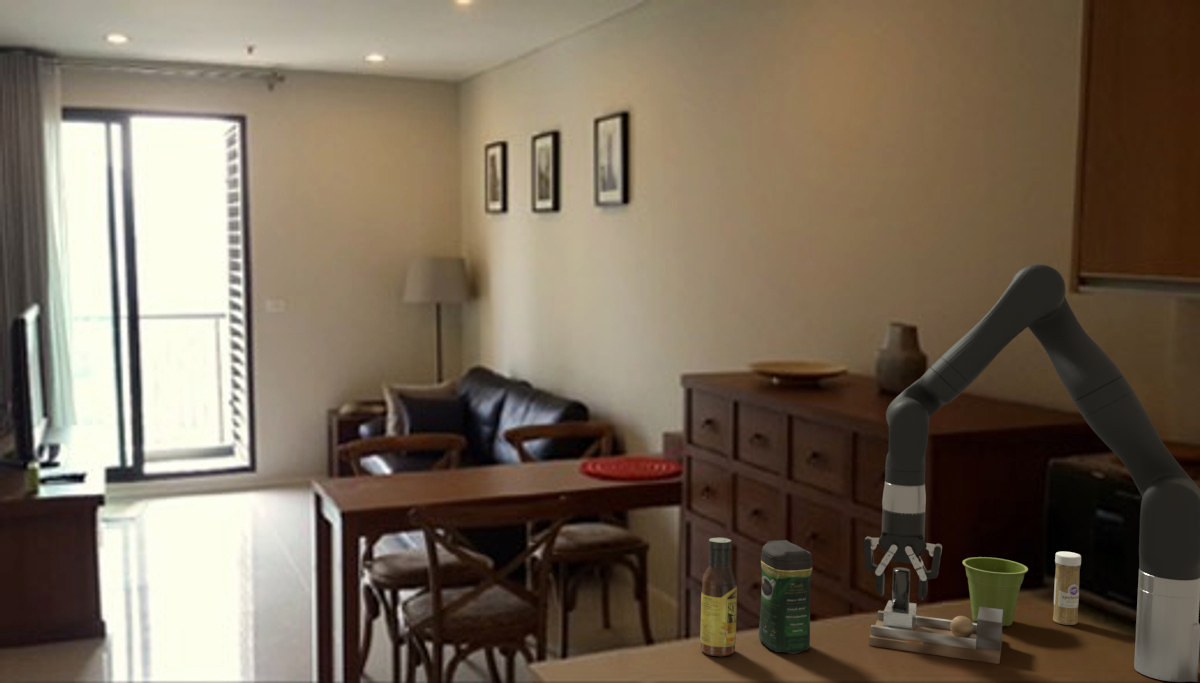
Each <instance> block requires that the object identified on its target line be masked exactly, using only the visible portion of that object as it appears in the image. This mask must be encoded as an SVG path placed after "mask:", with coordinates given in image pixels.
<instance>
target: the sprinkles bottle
mask: <svg viewBox="0 0 1200 683" xmlns="http://www.w3.org/2000/svg"><path fill="white" fill-rule="evenodd" d="M1054 557H1055V559H1054V562H1055V572H1054V573H1055V575H1054V589H1053V590H1054V591H1053V615H1052V616H1053V617H1052V620H1053V621H1054V623H1056V624H1059V625H1066V626H1073V625H1077V624H1078V623H1079V620H1078V611H1079V610H1078V609H1079V604H1080V603H1079V599H1080V569H1081V564H1082V555H1081V554H1080V553H1076V552H1071V551H1066V550H1065V551H1061V550H1060V551H1057V552H1056V553H1055V556H1054Z"/></svg>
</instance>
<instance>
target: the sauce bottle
mask: <svg viewBox="0 0 1200 683" xmlns="http://www.w3.org/2000/svg"><path fill="white" fill-rule="evenodd" d="M732 548H733V541H732V539H730V538H727V537H711V538H709V540H708V549H709V550H708V551H709V555H708V556H709V557H708V558H709V560H708V564H709V565H708V566H707V568H706V570H705V571H704V573H703V575H702V580H701V585H702V586H701V592H700V594H701V597H700V600H701V601H700V637H699V638H700V639H699V640H700V650H701V652H703V654H706V655H707V656H712V657H726V656H730V655H733V654H734V652H735V649H736V644H737V616H738V615H737V612H738V611H737V609H738V608H737V607H738V606H737V605H738V604H737V602H738V584H737V581H736V577H735V574H734V571H733V568H732V565H731V564H732V561H731V555H732V554H731V552H732Z"/></svg>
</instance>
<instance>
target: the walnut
mask: <svg viewBox="0 0 1200 683" xmlns="http://www.w3.org/2000/svg"><path fill="white" fill-rule="evenodd" d="M951 620H952V621H951V624H950V629H951V632H952V633H953V635H954V636H957V637H964V638H968V637H970V636H971V635H972V633H973V630H974V627H973V623H974V622H972V620H971V619H970V618H968V617H967V616H965V615H958V616H955V617H954V618H952V619H951Z"/></svg>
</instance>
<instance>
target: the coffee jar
mask: <svg viewBox="0 0 1200 683" xmlns="http://www.w3.org/2000/svg"><path fill="white" fill-rule="evenodd" d="M812 556H813V555H812V553H811V552H810V551H808V550H807V549H804V548H803V547H801V546H799V545H797V544H794V543H791V542H790V541H789V540H787V539H785V540H768V541H767V543H765V544H763V547H762V549H761V555H760V567H761V591H760V592H761V595H760V609H759V610H760V611H759V625H758V626H759V627H758V639H759V641H760V642H761V643H762V645H763V644H764V646H766V647H767V648H769V649H770V650H772V651H774V652H777V653H778V652H779V653H788V654H799V653H801V652H803V651H806V650H808V649H809V648H810V646H811V645H810V644H811V616H810V615H811V579H812V578H811V577H812V573H813V560H812V558H813V557H812Z"/></svg>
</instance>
